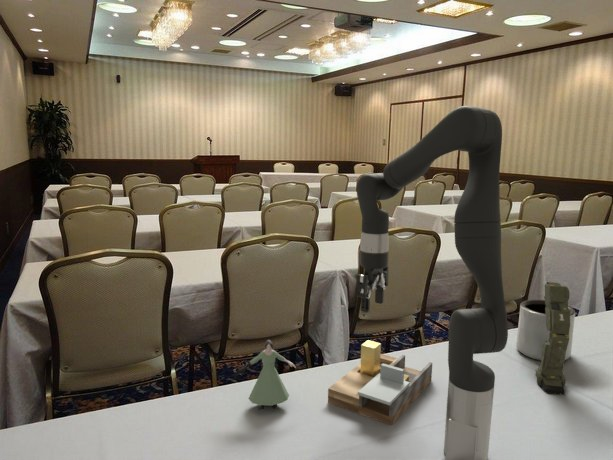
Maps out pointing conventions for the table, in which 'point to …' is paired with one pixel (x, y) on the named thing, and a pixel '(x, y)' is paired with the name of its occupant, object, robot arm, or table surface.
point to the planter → (537, 329)
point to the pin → (370, 358)
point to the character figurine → (267, 379)
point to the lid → (385, 385)
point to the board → (348, 398)
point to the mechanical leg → (555, 339)
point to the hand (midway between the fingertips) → (372, 307)
